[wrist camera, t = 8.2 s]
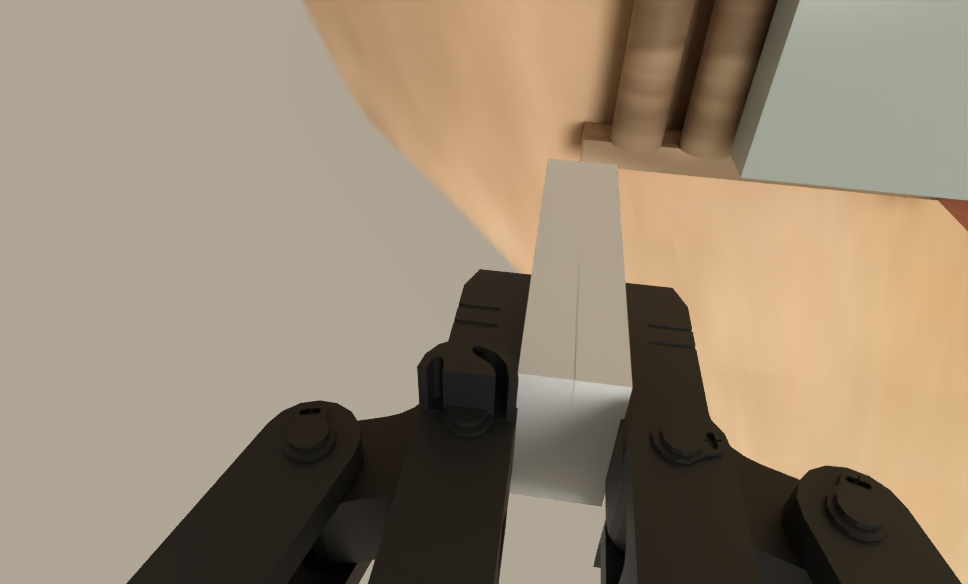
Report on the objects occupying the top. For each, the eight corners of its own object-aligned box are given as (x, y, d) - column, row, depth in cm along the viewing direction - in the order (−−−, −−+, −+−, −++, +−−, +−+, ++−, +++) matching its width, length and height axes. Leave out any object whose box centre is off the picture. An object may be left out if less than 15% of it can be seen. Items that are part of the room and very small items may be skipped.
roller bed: (620, -125, 29) (624, -121, 26) (1101, -98, 27) (1166, -90, 24) (581, 146, 38) (580, 172, 35) (944, 181, 36) (977, 212, 33)
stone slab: (794, -53, 27) (814, -43, 25) (1079, -34, 26) (1128, -22, 24) (729, 153, 33) (740, 177, 31) (958, 175, 32) (987, 202, 30)
